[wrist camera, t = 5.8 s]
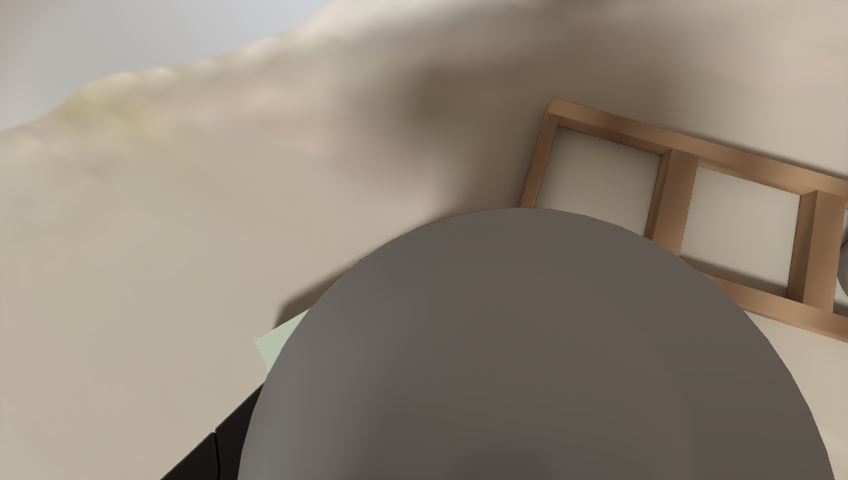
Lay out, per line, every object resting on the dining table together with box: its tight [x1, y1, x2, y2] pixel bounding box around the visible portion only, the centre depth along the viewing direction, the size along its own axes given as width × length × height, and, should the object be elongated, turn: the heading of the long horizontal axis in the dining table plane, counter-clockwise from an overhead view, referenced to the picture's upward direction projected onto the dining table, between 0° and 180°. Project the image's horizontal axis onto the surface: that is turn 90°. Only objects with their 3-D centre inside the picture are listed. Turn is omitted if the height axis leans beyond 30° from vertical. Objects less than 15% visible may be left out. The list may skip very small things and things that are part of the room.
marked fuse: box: [238, 208, 835, 480], centre depth 9 cm, size 5×5×12 cm
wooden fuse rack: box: [518, 97, 848, 343], centre depth 22 cm, size 24×11×1 cm, turn 72°
